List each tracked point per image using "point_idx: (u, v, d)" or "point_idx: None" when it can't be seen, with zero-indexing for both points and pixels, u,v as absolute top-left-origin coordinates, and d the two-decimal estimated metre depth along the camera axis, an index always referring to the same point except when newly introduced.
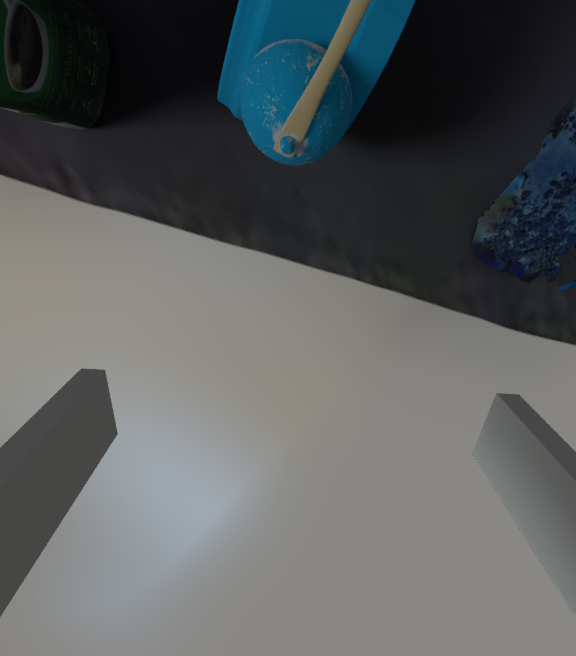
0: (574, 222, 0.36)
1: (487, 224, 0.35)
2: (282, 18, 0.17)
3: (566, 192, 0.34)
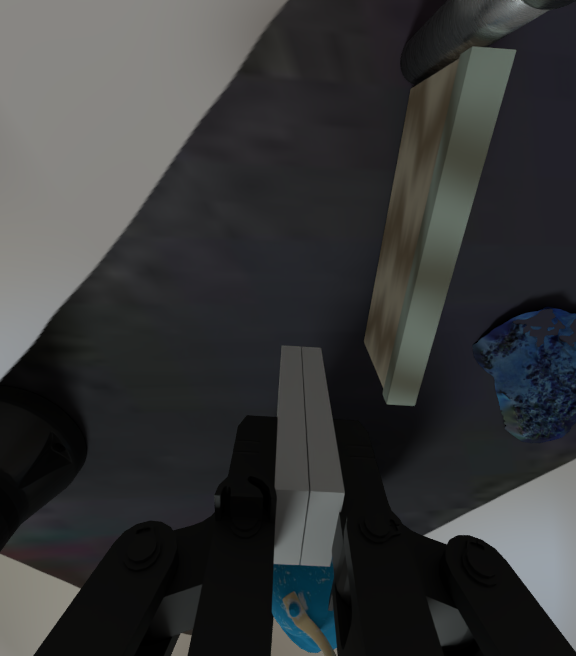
0: None
1: (516, 431, 0.38)
2: (335, 646, 0.30)
3: (547, 369, 0.34)
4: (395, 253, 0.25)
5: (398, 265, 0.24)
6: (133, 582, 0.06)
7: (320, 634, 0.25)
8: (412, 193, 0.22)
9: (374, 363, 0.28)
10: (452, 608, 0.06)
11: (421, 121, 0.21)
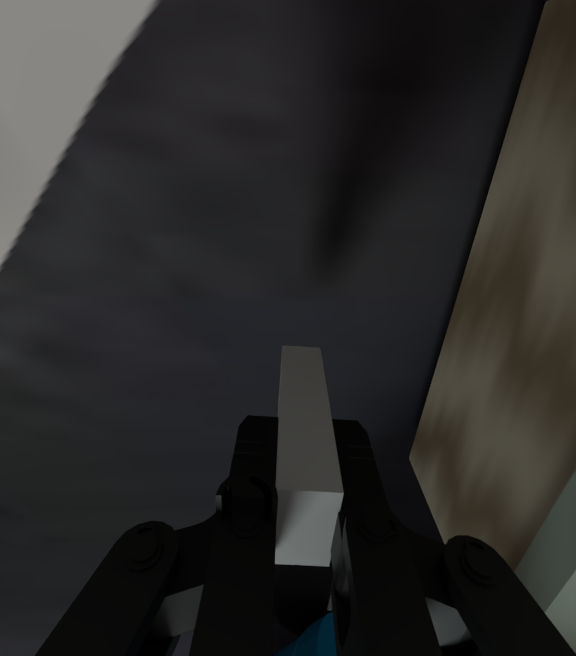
0: None
1: None
2: None
3: None
4: (503, 349, 0.12)
5: (518, 382, 0.11)
6: (134, 582, 0.06)
7: None
8: (575, 234, 0.09)
9: (440, 527, 0.16)
10: (451, 608, 0.06)
11: None
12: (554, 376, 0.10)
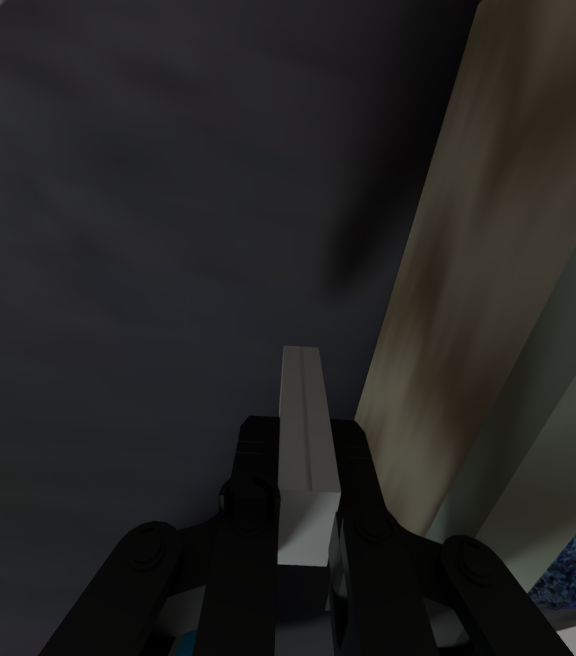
0: None
1: None
2: None
3: None
4: (414, 362, 0.12)
5: (421, 396, 0.11)
6: (137, 582, 0.06)
7: None
8: (476, 246, 0.09)
9: None
10: (447, 608, 0.06)
11: (518, 65, 0.08)
12: (446, 393, 0.09)
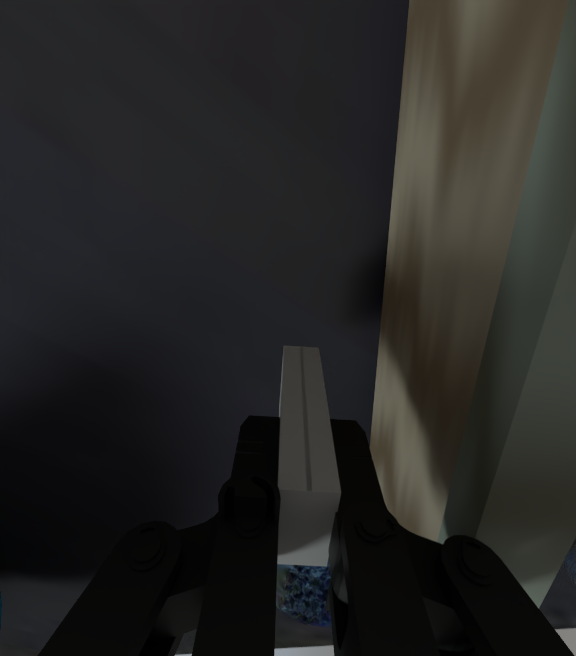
0: None
1: (276, 600, 0.26)
2: None
3: None
4: (409, 358, 0.11)
5: (419, 393, 0.11)
6: (137, 582, 0.06)
7: None
8: (440, 237, 0.09)
9: None
10: (448, 608, 0.06)
11: (449, 48, 0.08)
12: (437, 389, 0.09)
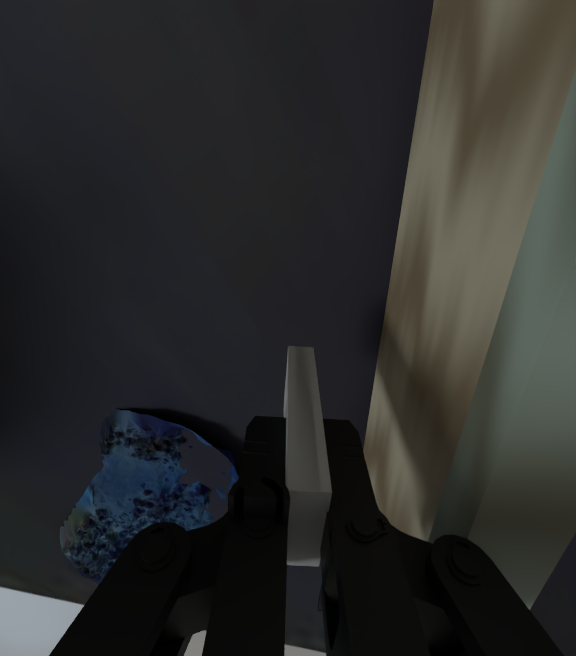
0: None
1: (64, 543, 0.24)
2: None
3: (162, 512, 0.22)
4: (410, 359, 0.11)
5: (418, 394, 0.11)
6: (148, 583, 0.06)
7: None
8: (450, 237, 0.09)
9: None
10: (437, 608, 0.06)
11: (471, 49, 0.08)
12: (437, 389, 0.09)
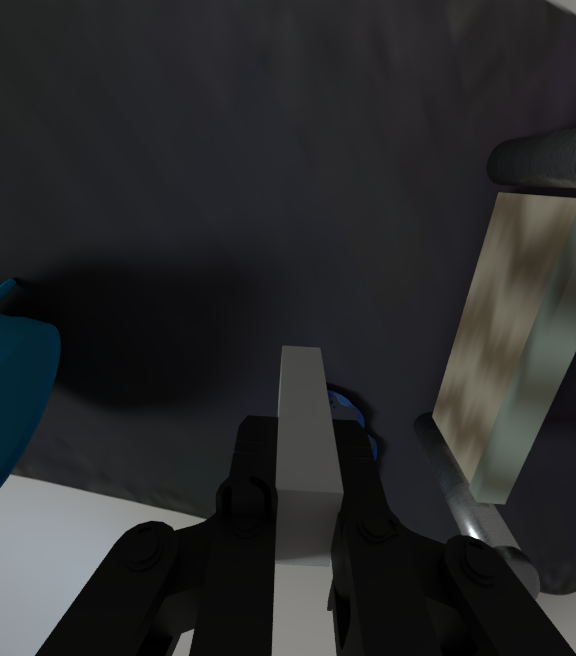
0: None
1: None
2: None
3: None
4: (481, 348, 0.25)
5: (487, 363, 0.24)
6: (135, 582, 0.06)
7: None
8: (507, 299, 0.23)
9: (451, 447, 0.29)
10: (451, 608, 0.06)
11: (518, 233, 0.22)
12: (500, 359, 0.23)
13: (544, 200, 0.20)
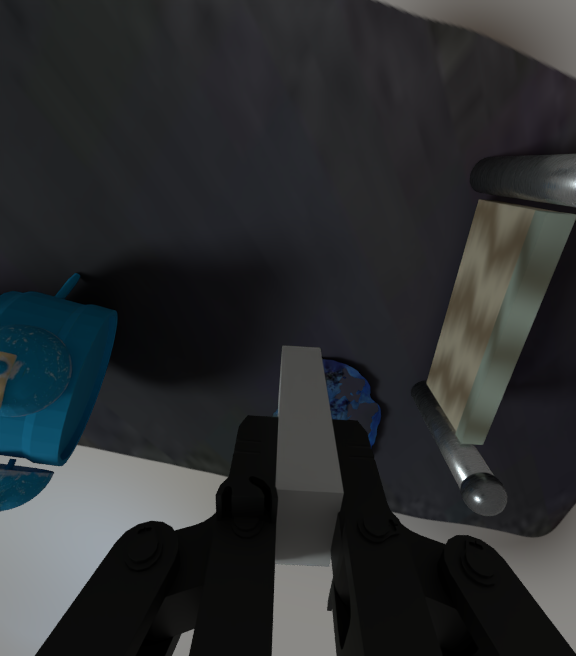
0: None
1: None
2: None
3: None
4: (465, 324, 0.32)
5: (469, 335, 0.31)
6: (135, 582, 0.06)
7: None
8: (484, 285, 0.29)
9: (441, 405, 0.35)
10: (451, 608, 0.06)
11: (493, 233, 0.28)
12: (479, 331, 0.29)
13: (511, 209, 0.26)
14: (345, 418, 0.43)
